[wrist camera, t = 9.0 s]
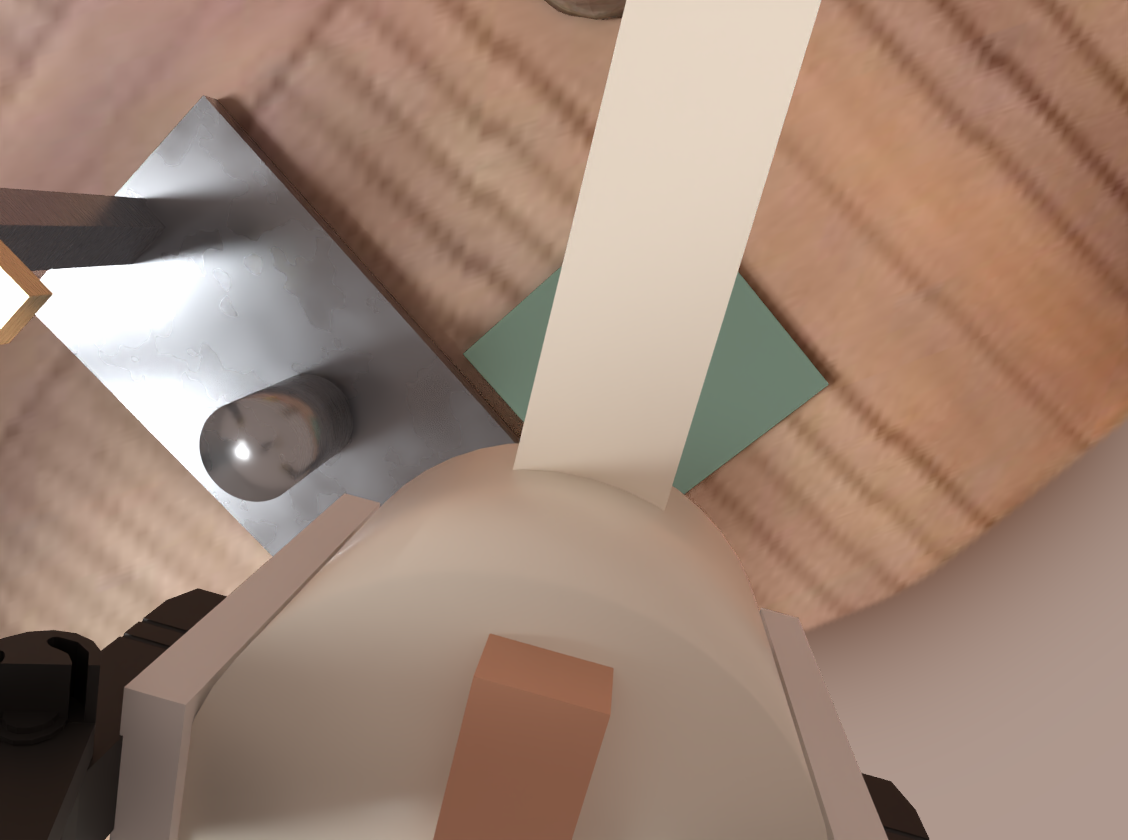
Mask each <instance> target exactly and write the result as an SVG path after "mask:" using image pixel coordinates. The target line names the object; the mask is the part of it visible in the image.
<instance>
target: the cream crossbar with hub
mask: <svg viewBox="0 0 1128 840" xmlns="http://www.w3.org/2000/svg"><path fill="white" fill-rule="evenodd" d="M820 3H821V0H626V4H625V8H624V12H623V16H622V20H621V25H620V29H619V33H618V37H617V41H616V45H615V49H614V53H613V58H612V62H611V66H610V70H609V74H608V78H607V82H606V86H605V91H604V95H603V99H602V103H601V107H600V111H599V115H598V120H597V124H596V128H595V132H594V136H593V140H592V144H591V148H590V153H589V157H588V161H587V165H586V169H585V173H584V177H583V182H582V186H581V190H580V194H579V198H578V202H577V206H576V210H575V215H574V219H573V223H572V227H571V231H570V235H569V239H568V244H567V248H566V252H565V256H564V260H563V264H562V268H561V272H560V277H559V281H558V285H557V289H556V293H555V297H554V301H553V305H552V310H551V314H550V318H549V322H548V326H547V330H546V334H545V339H544V343H543V347H542V351H541V355H540V359H539V363H538V367H537V372H536V376H535V380H534V384H533V388H532V392H531V396H530V401H529V405H528V409H527V413H526V417H525V421H524V425H523V429H522V434H521V438H520V442H519V443H514V444H504V445H499V446H493V447H488V448H482V449H478V450H475V451H472V452H468V453H465V454H462V455H459V456H456V457H453V458H451V459H448V460H446V461H444V462H442V463H440V464H438V465H436V466H434V467H432V468H430V469H428V470H426V471H424V472H423V473H421V474H420V475H418V476H417V477H415V478H414V479H412V480H411V481H409V482H408V483H406V484H405V485H404V486H402V487H401V488H400V489H399V490H398V491H397V492H396V493H395V494H394V495H392V496H391V497H390V498H389V499H388V500H387V501H386V502H385V503H384V504H383V505H382V506H381V507H380V508H379V509H378V510H377V511H376V512H375V513H374V514H373V515H372V516H371V517H370V518H369V519H368V520H367V521H366V522H365V524H364V525H363V526H362V527H361V528H360V529H359V530H358V531H357V532H356V533H355V534H354V535H353V536H352V537H351V538H350V539H349V540H348V541H347V542H346V543H345V545H344V546H343V547H342V548H341V549H340V550H339V551H338V552H337V553H336V554H335V555H334V556H333V557H332V558H331V559H330V560H329V561H328V562H327V563H326V565H325V566H324V567H323V568H322V569H321V570H320V571H319V572H318V573H317V574H316V575H315V576H314V577H313V578H312V579H311V580H310V581H309V582H308V583H307V584H306V586H305V587H304V588H303V589H302V590H301V591H300V592H299V593H298V594H297V595H296V596H295V597H294V598H293V599H292V600H291V601H290V602H289V603H288V604H287V605H286V607H285V608H284V609H283V610H282V611H281V612H280V613H279V614H278V615H277V616H276V617H275V618H274V619H273V620H272V621H271V622H270V623H269V624H268V625H267V626H266V628H265V629H264V630H263V631H262V632H261V633H260V634H259V635H258V636H257V637H256V638H255V639H254V640H253V641H252V642H251V643H250V644H249V645H248V646H247V647H246V649H245V650H244V651H243V652H242V653H241V654H240V655H239V656H238V657H237V658H236V659H235V660H234V662H233V663H232V664H231V665H230V666H229V668H228V669H227V670H226V671H225V673H224V674H223V675H222V676H221V677H220V679H219V680H218V681H217V682H216V683H215V685H214V686H213V687H212V689H211V691H210V692H209V694H208V696H207V698H206V699H205V701H204V703H203V704H202V706H201V708H200V710H199V711H198V713H197V715H196V716H195V719H194V721H193V724H192V728H191V736H190V744H189V752H188V760H187V768H186V776H185V783H184V791H183V799H182V807H181V815H180V823H179V831H178V839H177V840H828V839H827V832H826V826H825V823H824V819H823V816H822V813H821V810H820V807H819V803H818V800H817V797H816V794H815V790H814V787H813V784H812V781H811V777H810V774H809V771H808V768H807V764H806V761H805V758H804V755H803V752H802V748H801V745H800V742H799V739H798V735H797V732H796V729H795V726H794V722H793V719H792V716H791V713H790V709H789V706H788V703H787V700H786V696H785V693H784V690H783V687H782V684H781V680H780V677H779V674H778V671H777V667H776V664H775V661H774V658H773V654H772V651H771V648H770V645H769V641H768V638H767V635H766V632H765V628H764V625H763V622H762V619H761V616H760V612H759V609H758V606H757V603H756V600H755V597H754V593H753V590H752V587H751V584H750V581H749V579H748V577H747V575H746V573H745V570H744V568H743V566H742V564H741V562H740V560H739V558H738V556H737V554H736V553H735V551H734V550H733V548H732V547H731V545H730V544H729V543H728V541H727V540H726V538H725V537H724V535H723V534H722V532H721V531H720V530H719V529H718V527H717V526H716V525H715V524H714V523H713V522H712V521H711V520H710V519H709V517H708V516H707V515H706V514H705V513H704V512H703V511H702V510H701V509H700V508H699V507H698V506H697V505H696V504H694V503H693V502H692V501H691V500H690V499H689V498H687V497H686V496H685V495H684V494H683V493H681V492H680V491H679V490H678V489H676V488H675V487H673V486H672V485H673V481H674V478H675V475H676V471H677V468H678V465H679V462H680V458H681V455H682V452H683V449H684V445H685V442H686V439H687V436H688V432H689V429H690V426H691V423H692V419H693V416H694V413H695V410H696V406H697V403H698V400H699V397H700V393H701V390H702V387H703V384H704V380H705V377H706V374H707V371H708V367H709V364H710V361H711V358H712V354H713V351H714V348H715V345H716V341H717V338H718V335H719V332H720V328H721V325H722V322H723V319H724V315H725V312H726V309H727V306H728V302H729V299H730V296H731V293H732V289H733V286H734V283H735V280H736V276H737V273H738V270H739V267H740V263H741V260H742V257H743V254H744V250H745V247H746V244H747V241H748V237H749V234H750V231H751V228H752V224H753V221H754V218H755V215H756V211H757V208H758V205H759V202H760V198H761V195H762V192H763V189H764V185H765V182H766V179H767V176H768V172H769V169H770V166H771V163H772V159H773V156H774V153H775V149H776V146H777V143H778V140H779V136H780V133H781V130H782V127H783V123H784V120H785V117H786V114H787V110H788V107H789V104H790V101H791V97H792V94H793V91H794V88H795V84H796V81H797V78H798V75H799V71H800V68H801V65H802V62H803V58H804V55H805V52H806V49H807V45H808V42H809V39H810V36H811V32H812V29H813V26H814V23H815V19H816V16H817V13H818V10H819V6H820Z"/></svg>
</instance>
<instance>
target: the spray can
mask: <svg viewBox="0 0 1128 840" xmlns="http://www.w3.org/2000/svg"><path fill="white" fill-rule="evenodd" d="M545 1H546V2H547V3H548V4H549V5H551V6H552V7H553V8H555V9H556V10H558V11H559V12H562V13H564V14H568V15H571V16H579V17H586V18H592V19H597V20H598V19H602V20H604V19H606V18H614V17H622V16H623V12H624V8H625V4H626V0H545Z"/></svg>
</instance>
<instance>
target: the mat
mask: <svg viewBox="0 0 1128 840" xmlns="http://www.w3.org/2000/svg"><path fill="white" fill-rule="evenodd" d="M561 268H562V266H561V267H560V268H559V269H558V270H557V271H556V272H554V273H553V274H552V275H551V276H550V277H549V278H548V279H547V280H545V281H544V282H543V283H542V284H541V285H540V286H539V287H538V288H536V289H535V290H534V291H533V292H532V293H531V294H530V295H529V296H527V297H526V298H525V299H524V300H523V301H522V302H521V303H520V304H519V305H517V306H516V307H515V308H514V309H513V310H512V311H511V312H510V313H508V314H507V315H506V316H505V317H504V318H503V319H502V320H501V321H499V322H498V323H497V324H496V325H495V326H494V327H493V328H492V329H490V330H489V331H488V332H487V333H486V334H485V335H484V336H483V337H481V338H480V339H479V340H478V341H477V342H476V343H475V344H474V345H472V346H471V347H470V348H469V349H468V350H467V351H466V352H465V353H463V355H464V356H465V357H466V358H467V359H468V360H469V361H470V362H471V364H472V365H473V366H474V367H475V368H476V369H477V370H478V371H479V373H480V374H481V375H482V376H483V377H484V378H485V379H486V380H487V382H488V383H489V384H490V385H491V386H492V387H493V388H494V389H495V391H496V392H497V393H498V394H499V395H500V396H501V397H502V398H503V400H504V401H505V402H506V403H507V404H508V405H509V406H510V407H511V409H512V410H513V411H514V412H515V413H516V414H517V415H518V416H519V418H520V419H521V420H522V421H523V422H524V421H525V417H526V413H527V409H528V405H529V401H530V396H531V392H532V388H533V384H534V380H535V376H536V372H537V367H538V363H539V359H540V355H541V351H542V347H543V343H544V339H545V334H546V330H547V326H548V322H549V318H550V314H551V310H552V305H553V301H554V297H555V293H556V289H557V285H558V281H559V277H560V272H561ZM828 385H829V384H828V382H827V381H826V380H825V379H824V377H823V376H822V375H821V374H820V373H819V371H818V370H817V369H816V368H815V366H814V365H813V364H812V363H811V361H810V360H809V359H808V358H807V356H806V355H805V354H804V353H803V351H802V350H801V349H800V348H799V347H798V345H797V344H796V343H795V342H794V340H793V339H792V338H791V337H790V335H789V334H788V333H787V332H786V330H785V329H784V328H783V327H782V326H781V324H780V323H779V322H778V321H777V319H776V318H775V317H774V316H773V314H772V313H771V312H770V311H769V309H768V308H767V307H766V306H765V304H764V303H763V302H762V301H761V300H760V298H759V297H758V296H757V295H756V293H755V292H754V291H753V290H752V288H751V287H750V286H749V285H748V283H747V282H746V281H745V280H744V278H743V277H742V276H741V275H740V274H739V272H738V273H737V276H736V280H735V283H734V286H733V289H732V293H731V296H730V299H729V302H728V306H727V309H726V312H725V315H724V319H723V322H722V325H721V328H720V332H719V335H718V338H717V341H716V345H715V348H714V351H713V354H712V358H711V361H710V364H709V367H708V371H707V374H706V377H705V380H704V384H703V387H702V390H701V393H700V397H699V400H698V403H697V406H696V410H695V413H694V416H693V419H692V423H691V426H690V429H689V432H688V436H687V439H686V442H685V445H684V449H683V452H682V455H681V458H680V462H679V465H678V468H677V471H676V475H675V478H674V481H673V485H672V486H673V487H675V488H676V489H678V490H679V491H680V492H681V493H683V494H685V493H686V492H688V491H689V490H690V489H692V488H693V487H694V486H696V485H697V484H698V483H700V482H701V481H702V480H704V479H705V478H706V477H708V476H709V475H710V474H711V473H713V472H714V471H715V470H717V469H718V468H719V467H721V466H722V465H723V464H725V463H726V462H727V461H729V460H730V459H731V458H733V457H734V456H735V455H737V454H738V453H739V452H740V451H742V450H743V449H744V448H746V447H747V446H748V445H750V444H751V443H752V442H754V441H755V440H756V439H758V438H759V437H760V436H762V435H763V434H764V433H766V432H767V431H768V430H770V429H771V428H772V427H773V426H775V425H776V424H777V423H779V422H780V421H781V420H783V419H784V418H785V417H787V416H788V415H789V414H791V413H792V412H793V411H795V410H796V409H797V408H799V407H800V406H801V405H802V404H804V403H805V402H806V401H808V400H809V399H810V398H812V397H813V396H814V395H816V394H817V393H818V392H820V391H821V390H822V389H824V388H825V387H826V386H828Z"/></svg>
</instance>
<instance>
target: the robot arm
mask: <svg viewBox="0 0 1128 840" xmlns="http://www.w3.org/2000/svg"><path fill="white" fill-rule="evenodd" d="M379 507H380V503H378V502H375V501H371V500H368V499H364V498H360V497H357V496H353V495H349V494H346V493H344V494H343V495H342V496H341V497H340V498H339V499H338V500H336V501H335V502H334V503H333V504H332V505H331V506H330V507H328V508H327V509H326V510H325V511H324V512H323V513H322V514H320V515H319V516H318V517H317V518H316V519H315V520H314V521H313V522H311V523H310V524H309V525H308V526H307V527H306V528H305V529H303V530H302V531H301V532H300V533H299V534H298V535H297V536H295V537H294V538H293V539H292V540H291V541H290V542H289V543H288V544H286V545H285V546H284V547H283V548H282V549H281V550H280V551H278V552H277V553H276V554H275V555H274V556H273V557H272V558H271V559H269V560H268V561H267V562H266V563H265V564H264V565H263V566H261V567H260V568H259V569H258V570H257V571H256V572H255V573H253V574H252V575H251V576H250V577H249V578H248V579H247V580H246V581H244V582H243V583H242V584H241V585H240V586H239V587H238V588H236V589H235V590H234V591H233V592H232V593H231V594H230V595H228V596H223V595H219V594H216V593H212V592H209V591H205V590H202V589H195V590H192V591H190V592H187V593H184V594H182V595H179V596H177V597H174V598H171V599H169V600H166V601H165V602H164V603H162V604H161V605H160V606H158V607H157V608H156V609H155V610H153V611H152V612H151V613H149V614H148V615H147V616H146V617H144V618H143V621H142V622H138V623H137V624H135V625H134V626H133V627H131V628H130V629H129V630H128V631H126V632H125V633H124V636H123V637H118V638H117V639H116V640H115V641H113V642H112V643H111V644H109V645H108V646H107V647H106V648H104V649H103V650H102V651H100V649H99V648H98V647H97V645H96V644H95V643H94V642H93V641H92V640H90V639H88V638H85V637H83V636H81V635H79V634H77V633H70V632H63V631H56V630H50V631H34V632H26V633H22V634H18V635H14V636H10V637H6V638H2V639H0V840H105V839H106V838H107V836H108V835H109V834H110V840H177V839H178V831H179V823H180V815H181V807H182V799H183V791H184V783H185V776H186V768H187V760H188V752H189V744H190V736H191V728H192V724H193V721H194V719H195V716H196V715H197V713H198V711H199V710H200V708H201V706H202V704H203V703H204V701H205V699H206V698H207V696H208V694H209V692H210V691H211V689H212V687H213V686H214V685H215V683H216V682H217V681H218V680H219V679H220V677H221V676H222V675H223V674H224V673H225V671H226V670H227V669H228V668H229V666H230V665H231V664H232V663H233V662H234V660H235V659H236V658H237V657H238V656H239V655H240V654H241V653H242V652H243V651H244V650H245V649H246V647H247V646H248V645H249V644H250V643H251V642H252V641H253V640H254V639H255V638H256V637H257V636H258V635H259V634H260V633H261V632H262V631H263V630H264V629H265V628H266V626H267V625H268V624H269V623H270V622H271V621H272V620H273V619H274V618H275V617H276V616H277V615H278V614H279V613H280V612H281V611H282V610H283V609H284V608H285V607H286V605H287V604H288V603H289V602H290V601H291V600H292V599H293V598H294V597H295V596H296V595H297V594H298V593H299V592H300V591H301V590H302V589H303V588H304V587H305V586H306V584H307V583H308V582H309V581H310V580H311V579H312V578H313V577H314V576H315V575H316V574H317V573H318V572H319V571H320V570H321V569H322V568H323V567H324V566H325V565H326V563H327V562H328V561H329V560H330V559H331V558H332V557H333V556H334V555H335V554H336V553H337V552H338V551H339V550H340V549H341V548H342V547H343V546H344V545H345V543H346V542H347V541H348V540H349V539H350V538H351V537H352V536H353V535H354V534H355V533H356V532H357V531H358V530H359V529H360V528H361V527H362V526H363V525H364V524H365V522H366V521H367V520H368V519H369V518H370V517H371V516H372V515H373V514H374V513H375V512H376V511H377V510H378V509H379ZM760 616H761V619H762V622H763V625H764V628H765V632H766V635H767V638H768V641H769V645H770V648H771V651H772V654H773V658H774V661H775V664H776V667H777V671H778V674H779V677H780V680H781V684H782V687H783V690H784V693H785V696H786V700H787V703H788V706H789V709H790V713H791V716H792V719H793V722H794V726H795V729H796V732H797V735H798V739H799V742H800V745H801V748H802V752H803V755H804V758H805V761H806V764H807V768H808V771H809V774H810V777H811V781H812V784H813V787H814V790H815V794H816V797H817V800H818V803H819V807H820V810H821V813H822V816H823V819H824V823H825V826H826V832H827V839H828V840H929V837H928V835H927V833H926V831H925V829H924V827H923V824H922V822H921V820H920V818H919V816H918V814H917V812H916V810H915V809H914V807H913V806H912V805H911V804H910V803H909V802H908V800H907V799H906V798H905V797H904V796H903V795H902V794H901V792H900V791H899V790H898V789H897V788H896V787H895V785H894V784H893V783H892V782H891V781H888V780H884V779H881V778H877V777H873V776H870V775H866V774H863V773H861V771H860V769H859V766H858V764H857V761H856V759H855V756H854V754H853V751H852V749H851V746H850V744H849V741H848V739H847V736H846V734H845V732H844V729H843V727H842V724H841V722H840V719H839V717H838V714H837V712H836V709H835V707H834V704H833V702H832V700H831V697H830V695H829V692H828V690H827V687H826V685H825V682H824V680H823V677H822V675H821V672H820V670H819V667H818V665H817V663H816V660H815V658H814V655H813V653H812V650H811V648H810V645H809V643H808V640H807V638H806V635H805V633H804V630H803V628H802V625H801V623H800V620H799V618H797V617H793V616H790V615H786V614H782V613H779V612H775V611H772V610H768V609H764V608H761V610H760Z"/></svg>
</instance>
